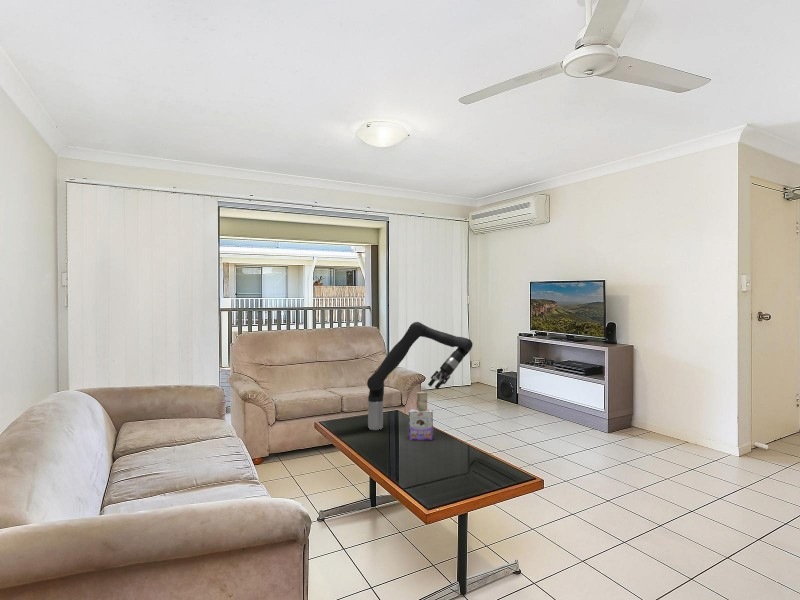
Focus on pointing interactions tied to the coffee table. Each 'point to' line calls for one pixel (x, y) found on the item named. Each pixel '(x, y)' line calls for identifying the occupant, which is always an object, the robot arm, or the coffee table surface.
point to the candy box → (420, 425)
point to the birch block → (421, 401)
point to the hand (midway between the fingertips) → (432, 386)
